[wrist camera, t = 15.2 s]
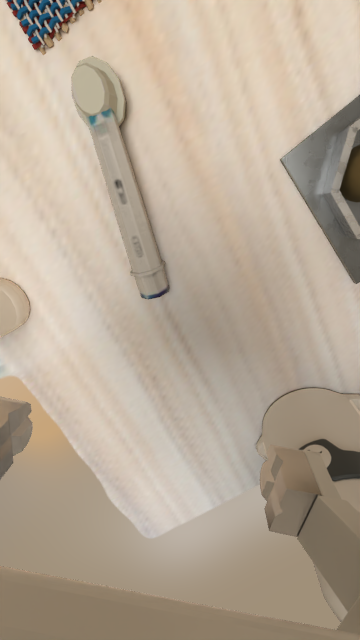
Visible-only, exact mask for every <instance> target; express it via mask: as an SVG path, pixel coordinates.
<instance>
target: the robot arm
mask: <svg viewBox="0 0 360 640" xmlns="http://www.w3.org/2000/svg"><path fill="white" fill-rule="evenodd" d="M30 413H31V404H29V403H28V402H24V401H19V400H15V399H10V398H5V397H0V479H1V478H2V477H3V476H4V474H5V472H7V470H8V469H9V468H10V466H11V465H12V464H13V456H14V455H16V454H18V453H20V452H22V451H23V449H24V448H25V447H26V445H27V444H28V442H29V439H30V437H31V434H32V422H31V420H30V419H29V418H28V415H29V414H30ZM256 449H257V452H258V454H259V455H260V456H261V457H263V458H264V459H265V460H267V461H266V462H264V463H263V465H262V468H261V472H260V488H261V493H262V496H263V497H264V498H265V499H266V501H267V504H266V506H265V513H266V518H267V523H268V528H269V531H272V532H277V533H281V534H286V535H290V536H295V537H298V538H297V539H298V540H299V542H300V543H301V545H302V546H303V548H304V549H305V551H306V552H307V554H308V555H309V556H310V558H311V559H312V561H313V564H314V567H315V570H316V574H317V577H318V580H319V583H320V587H321V590H322V593H323V596H324V598H325V600H326V602H327V603H328V605H329V606H330V608H331V610H332V611H333V613H334V614H335V615H336V616H337V618H338V619H339V620H340V622H341V623H340V625H339V626H338V628H337V630H333V629H328V628H323V627H318V626H312V625H307V624H302V623H297V622H291V621H286V620H281V619H276V618H271V617H265V616H260V615H255V614H250V613H244V612H239V611H234V610H229V609H224V608H218V607H213V606H208V605H203V604H198V603H192V602H187V601H182V600H177V599H171V598H166V597H161V596H156V595H150V594H146V593H140V592H135V591H130V590H124V589H119V588H114V587H109V586H103V585H99V584H93V583H88V582H83V581H78V580H72V579H67V578H62V577H57V576H51V575H46V574H41V573H36V572H30V571H25V570H20V569H14V568H10V567H4V566H0V640H360V395H359V394H340V393H337V392H334V391H331V390H327V389H321V388H308V389H301V390H297V391H294V392H291V393H289V394H287V395H285V396H283V397H281V398H280V399H278V400H277V401H276V402H275V403H274V404H273V405H272V406H271V407H270V408H269V409H268V411H267V412H266V414H265V417H264V420H263V425H262V436H261V437H260V439H259V441H258V443H257V445H256Z"/></svg>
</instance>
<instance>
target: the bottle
mask: <svg viewBox="0 0 360 640" xmlns="http://www.w3.org/2000/svg"><path fill="white" fill-rule="evenodd" d="M29 312H30V306H29V301H28V299H27V297H26V295H25V293H24V292H23V291H22V290H21V288H20V287H19V286H18V285H16V284H15V283H13V282H11V281H10V280H6V279H2V278H0V338H1V337H2V336H4V335H6V334H8V333H10V332H12V331H14V330H15V329H17V328H18V327H19V326H20V325H22V324H24V323H25V321H26V320H27V319H28V317H29Z"/></svg>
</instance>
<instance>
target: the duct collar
mask: <svg viewBox="0 0 360 640" xmlns="http://www.w3.org/2000/svg"><path fill="white" fill-rule="evenodd" d="M358 145H360V95H359V96H358V97H357V98H356V99H354V100H353V101H352V102H351V103H349V104H348V105H347V106H346V107H345V108H343V109H342V110H341V111H340V112H338V113H337V114H336V115H335V116H333V117H332V118H331V119H330V120H328V121H327V122H326V123H325V124H324V125H322V126H321V127H320V128H319V129H317V130H316V131H315V132H314V133H312V134H311V135H310V136H309V137H308V138H306V139H305V140H304V141H303V142H301V143H300V144H299V145H298V146H296V147H295V148H294V149H293V150H292V151H290V152H289V153H288V154H287V155H285V156H284V157H283V158H282V159H280V161H281V162H282V164H283V166H284V167H285V169H286V170H287V172H288V174H289V175H290V177H291V179H292V180H293V182H294V184H295V185H296V187H297V189H298V190H299V192H300V194H301V195H302V197H303V199H304V200H305V202H306V204H307V205H308V207H309V209H310V210H311V212H312V214H313V215H314V217H315V219H316V220H317V222H318V224H319V225H320V227H321V229H322V230H323V232H324V234H325V235H326V237H327V239H328V240H329V242H330V243H331V245H332V247H333V248H334V250H335V252H336V253H337V255H338V257H339V258H340V260H341V262H342V263H343V265H344V267H345V268H346V270H347V272H348V273H349V275H350V277H351V278H352V280H353V282H354V283H356V284H357V283H359V282H360V202H352V201H349V200H347V199H346V198H344V197H343V196H342V194H341V192H340V186H341V183H342V179H343V176H344V173H345V169H346V166H347V163H348V159H349V156H350V153H351V149H353V148H354V147H356V146H358Z"/></svg>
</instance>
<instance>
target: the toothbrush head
mask: <svg viewBox="0 0 360 640" xmlns="http://www.w3.org/2000/svg"><path fill="white" fill-rule="evenodd" d="M72 97H73V100H74V103H75V106H76V109H77V111H78V114H79V116H80V117H81V118H82V119H83V121H84V122H85V123H86V124H87V126H88V127H89V129H90V132H91V135H92V139H93V142H94V145H95V149H96V152H97V155H98V159H99V162H100V165H101V169H102V172H103V175H104V178H105V182H106V185H107V188H108V192H109V195H110V198H111V202H112V205H113V208H114V211H115V215H116V218H117V221H118V225H119V228H120V231H121V235H122V238H123V241H124V245H125V248H126V251H127V254H128V258H129V261H130V264H131V268H132V271H131V272H130V274H131V275H132V276H134V277H135V280H136V283H137V285H138V288H139V291H140V294H141V297H142V298H145V299H152V298H157V297H160V296H162V295H164V294H165V293H167V292H168V291H169V285H168V281H167V278H166V274H165V271H164V265H165V261H161V258H160V254H159V251H158V248H157V245H156V242H155V239H154V236H153V232H152V229H151V226H150V223H149V220H148V217H147V214H146V210H145V207H144V204H143V201H142V198H141V195H140V192H139V188H138V185H137V182H136V179H135V176H134V173H133V170H132V167H131V163H130V160H129V157H128V154H127V151H126V148H125V145H124V141H123V138H122V135H121V132H120V129H119V127H120V125H121V123H122V122H123V120H124V119H125V106H126V100H125V96H124V93H123V89H122V85H121V82H120V80H119V78H118V77H117V75H116V74H115V73H114V71H113V70H112V69H111V67H110V66H109V65H108V63H106V62H104V61H102V60H100V59H98V58H96V57H93V56H91V57H89V58H86V59H83V60H81V61H79V63H78V65H77V67H76V69H75V71H74V73H73V75H72Z"/></svg>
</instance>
